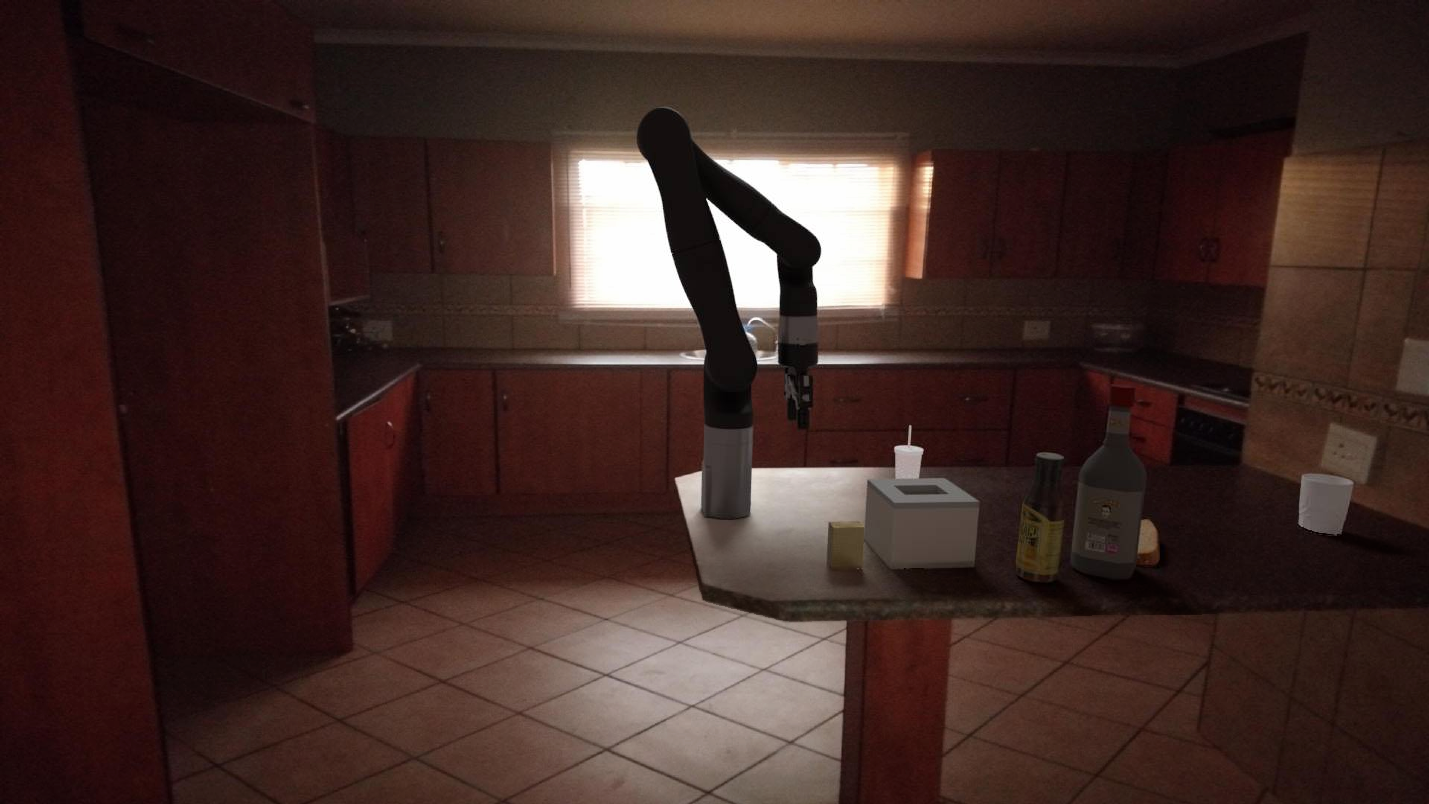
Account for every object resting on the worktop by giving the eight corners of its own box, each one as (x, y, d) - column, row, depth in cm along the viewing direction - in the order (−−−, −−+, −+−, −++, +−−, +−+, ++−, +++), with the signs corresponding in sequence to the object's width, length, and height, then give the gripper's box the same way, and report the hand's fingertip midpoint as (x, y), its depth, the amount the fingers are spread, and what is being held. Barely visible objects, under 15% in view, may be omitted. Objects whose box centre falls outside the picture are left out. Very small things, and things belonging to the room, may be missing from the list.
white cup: (1339, 527, 160) (1347, 476, 158) (1350, 539, 153) (1359, 486, 151) (1290, 521, 163) (1298, 471, 161) (1298, 532, 156) (1306, 481, 154)
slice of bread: (1142, 571, 136) (1144, 549, 135) (1052, 537, 151) (1054, 517, 151) (1210, 555, 144) (1213, 534, 143) (1118, 524, 159) (1120, 505, 159)
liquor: (1130, 583, 129) (1152, 392, 124) (1067, 571, 134) (1086, 386, 129) (1136, 566, 137) (1157, 385, 131) (1077, 554, 141) (1095, 379, 136)
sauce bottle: (1008, 570, 134) (1018, 449, 130) (1045, 569, 134) (1057, 449, 131) (1026, 586, 127) (1038, 459, 124) (1065, 585, 128) (1078, 459, 124)
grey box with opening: (890, 569, 133) (894, 502, 131) (864, 539, 146) (867, 479, 144) (974, 567, 134) (979, 501, 133) (940, 538, 148) (944, 478, 146)
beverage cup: (923, 493, 176) (928, 428, 174) (894, 492, 176) (898, 428, 174) (917, 485, 182) (921, 422, 180) (889, 485, 182) (893, 422, 180)
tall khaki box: (831, 570, 132) (833, 527, 131) (826, 563, 135) (828, 521, 134) (862, 569, 133) (864, 527, 131) (856, 562, 136) (858, 521, 134)
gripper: (771, 336, 162) (771, 418, 165) (786, 344, 149) (786, 433, 151) (808, 335, 163) (808, 416, 166) (827, 343, 149) (826, 431, 152)
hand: (797, 424), depth 159 cm, fingers open, 8 cm apart
